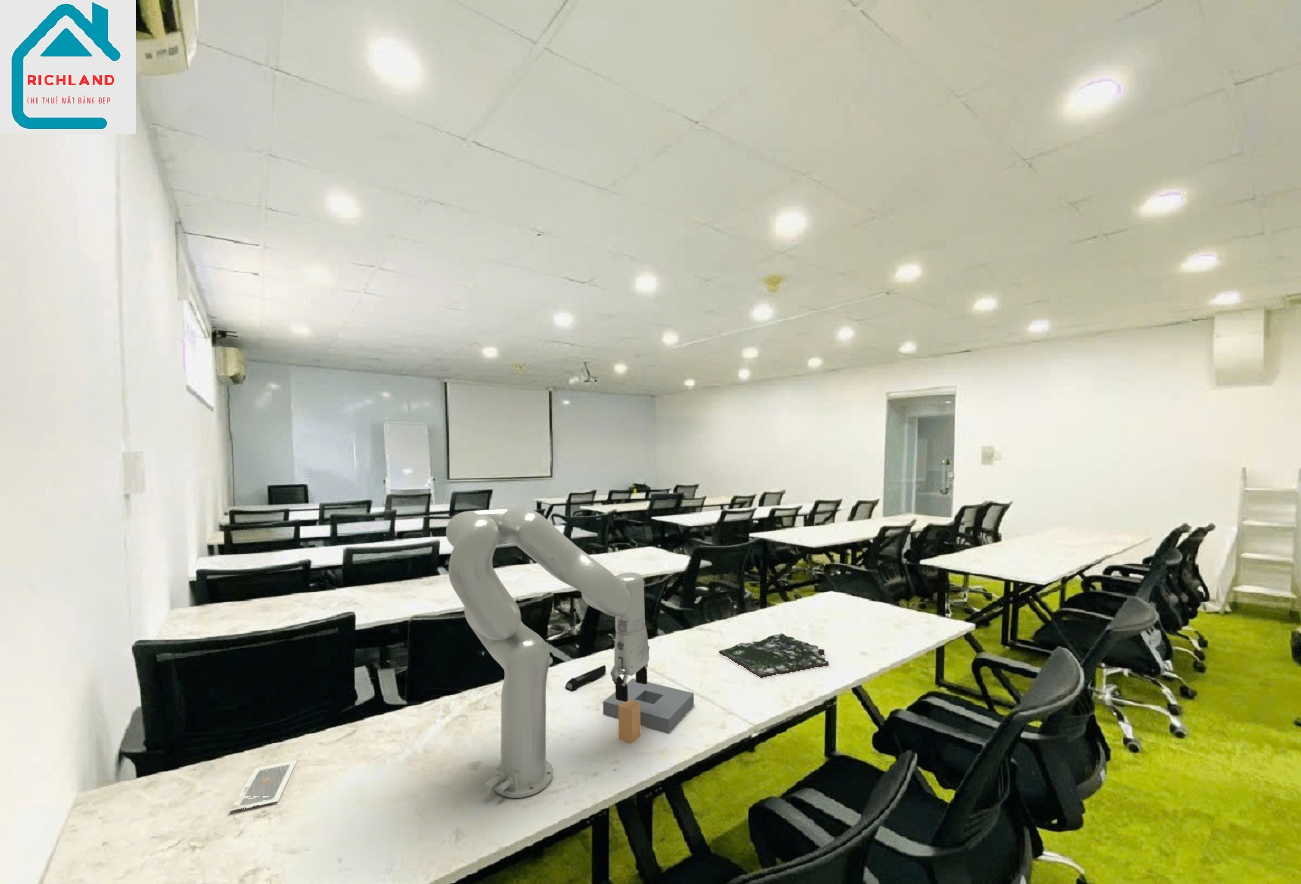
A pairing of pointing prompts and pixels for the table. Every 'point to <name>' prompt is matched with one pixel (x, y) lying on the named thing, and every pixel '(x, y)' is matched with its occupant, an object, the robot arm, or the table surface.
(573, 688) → the electric trimmer
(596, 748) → the table surface
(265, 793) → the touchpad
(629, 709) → the peg
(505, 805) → the table surface
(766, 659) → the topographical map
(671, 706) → the socket board
